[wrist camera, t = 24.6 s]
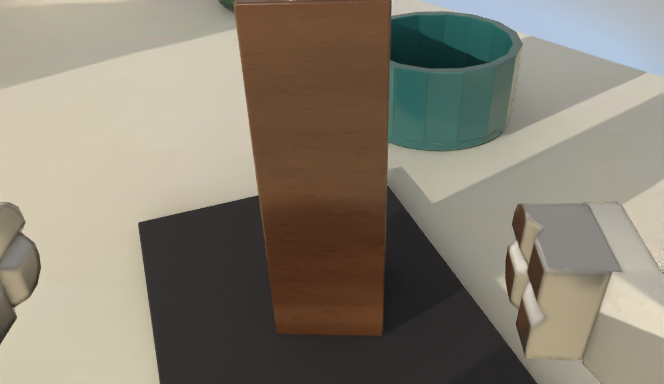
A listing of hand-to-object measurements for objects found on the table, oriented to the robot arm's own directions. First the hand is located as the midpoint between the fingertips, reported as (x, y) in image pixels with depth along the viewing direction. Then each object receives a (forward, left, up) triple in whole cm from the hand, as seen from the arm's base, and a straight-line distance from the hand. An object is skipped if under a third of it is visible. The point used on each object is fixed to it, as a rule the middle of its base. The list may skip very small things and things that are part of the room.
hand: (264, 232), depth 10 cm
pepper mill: (-11, +5, -14) cm, 18 cm away
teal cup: (-26, +17, -14) cm, 34 cm away
